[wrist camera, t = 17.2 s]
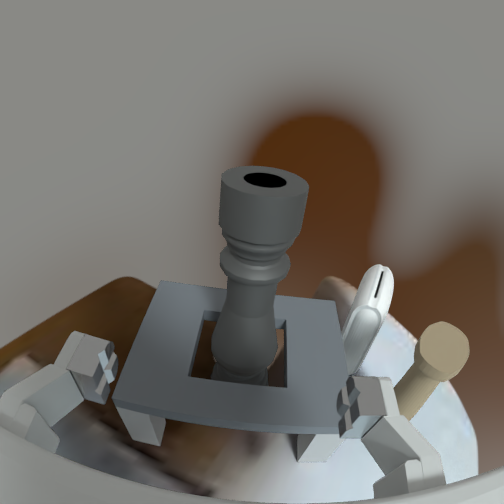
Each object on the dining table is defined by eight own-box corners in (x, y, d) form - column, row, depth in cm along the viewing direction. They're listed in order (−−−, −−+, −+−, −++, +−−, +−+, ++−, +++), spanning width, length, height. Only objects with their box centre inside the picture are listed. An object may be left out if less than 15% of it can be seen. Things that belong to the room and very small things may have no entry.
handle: (349, 434, 30) (409, 350, 22) (379, 401, 34) (436, 314, 26) (380, 458, 27) (455, 382, 19) (408, 423, 31) (475, 340, 23)
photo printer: (346, 321, 46) (371, 252, 39) (371, 330, 44) (401, 263, 38) (324, 369, 38) (354, 296, 31) (354, 381, 36) (392, 310, 30)
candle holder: (216, 370, 36) (227, 160, 23) (267, 378, 36) (311, 172, 23) (205, 413, 31) (205, 190, 18) (261, 422, 31) (315, 206, 17)
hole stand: (132, 439, 27) (111, 397, 22) (166, 333, 40) (160, 280, 36) (325, 462, 27) (356, 426, 22) (316, 351, 40) (334, 300, 36)
